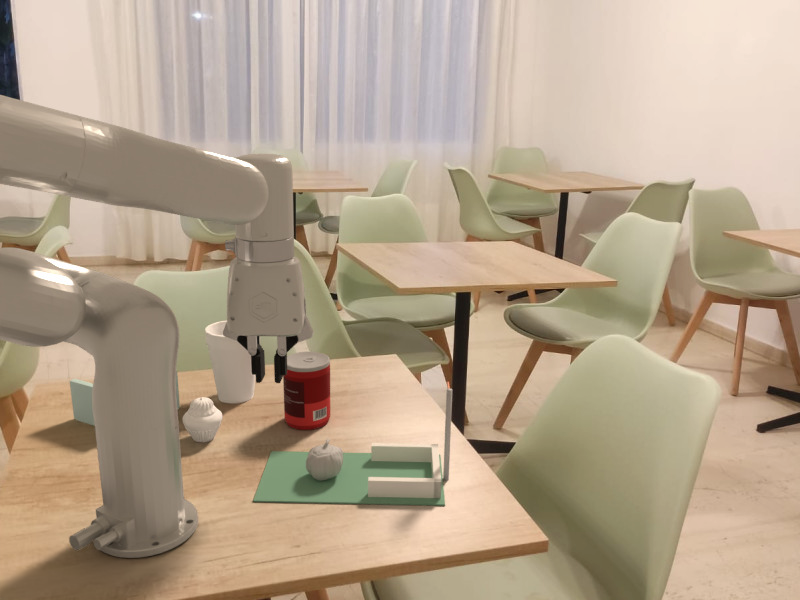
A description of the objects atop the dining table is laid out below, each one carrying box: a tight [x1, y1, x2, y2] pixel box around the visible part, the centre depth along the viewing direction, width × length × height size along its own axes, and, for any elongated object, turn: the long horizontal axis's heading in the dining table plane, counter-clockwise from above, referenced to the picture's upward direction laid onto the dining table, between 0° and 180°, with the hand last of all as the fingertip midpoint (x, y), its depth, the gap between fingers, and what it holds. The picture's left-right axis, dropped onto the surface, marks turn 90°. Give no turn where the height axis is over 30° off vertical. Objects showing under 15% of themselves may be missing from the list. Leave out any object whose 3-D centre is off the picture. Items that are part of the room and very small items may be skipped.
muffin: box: [181, 396, 224, 443], centre depth 116 cm, size 6×6×7 cm
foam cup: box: [204, 320, 256, 404], centre depth 131 cm, size 10×9×13 cm
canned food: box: [282, 351, 331, 431], centre depth 122 cm, size 8×8×11 cm
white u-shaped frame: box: [368, 381, 453, 498], centre depth 104 cm, size 11×11×14 cm
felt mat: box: [252, 450, 446, 507], centre depth 106 cm, size 26×14×1 cm, turn 90°
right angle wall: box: [69, 369, 181, 427], centre depth 124 cm, size 12×12×8 cm
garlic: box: [306, 438, 343, 481], centre depth 105 cm, size 6×5×5 cm
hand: (269, 378), depth 102 cm, fingers closed
